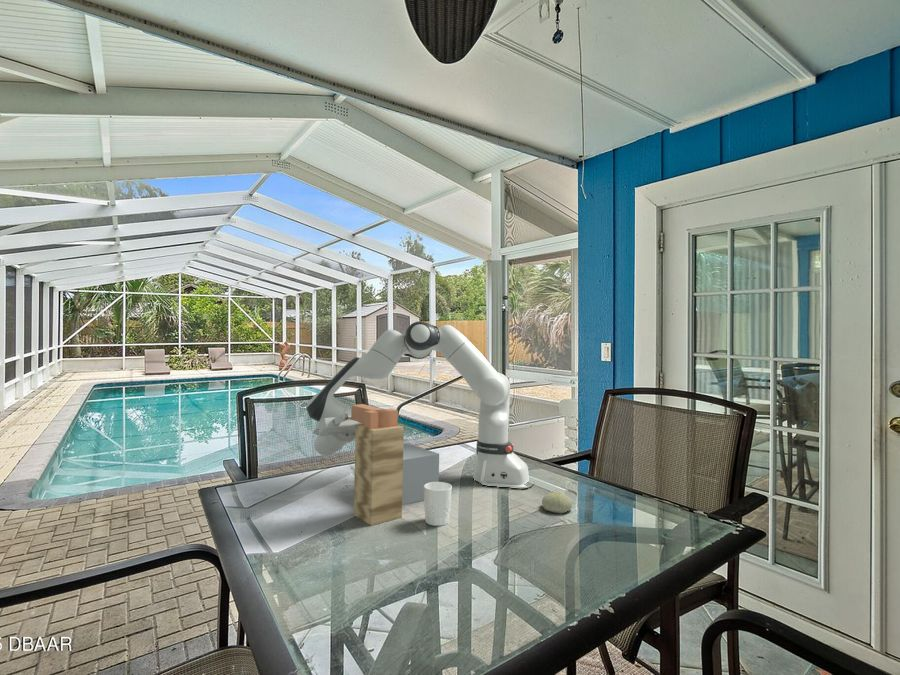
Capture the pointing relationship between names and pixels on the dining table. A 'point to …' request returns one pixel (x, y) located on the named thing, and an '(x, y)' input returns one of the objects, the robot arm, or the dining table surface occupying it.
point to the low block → (418, 472)
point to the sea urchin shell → (556, 502)
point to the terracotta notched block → (374, 416)
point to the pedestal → (378, 473)
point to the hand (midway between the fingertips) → (359, 414)
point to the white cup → (437, 503)
